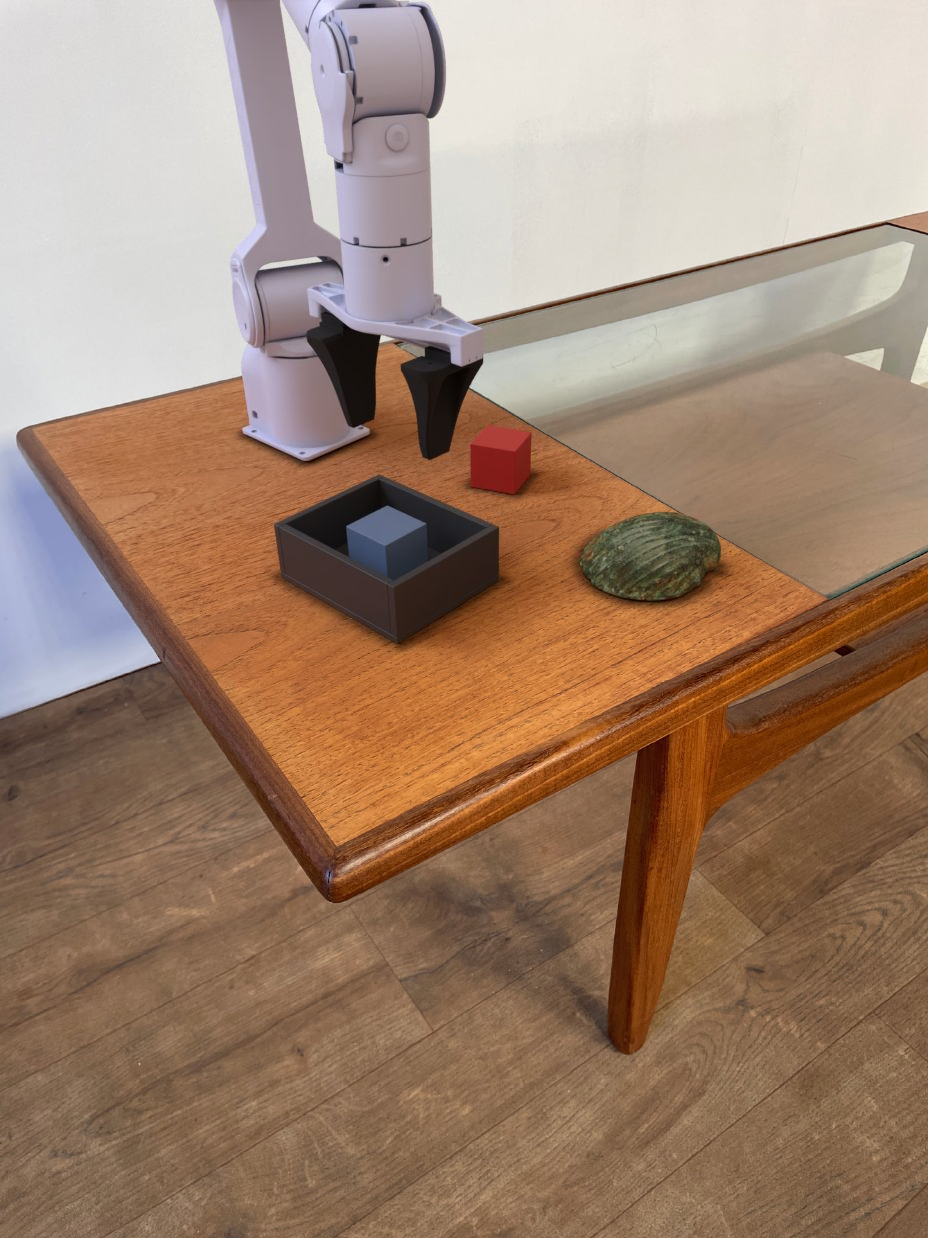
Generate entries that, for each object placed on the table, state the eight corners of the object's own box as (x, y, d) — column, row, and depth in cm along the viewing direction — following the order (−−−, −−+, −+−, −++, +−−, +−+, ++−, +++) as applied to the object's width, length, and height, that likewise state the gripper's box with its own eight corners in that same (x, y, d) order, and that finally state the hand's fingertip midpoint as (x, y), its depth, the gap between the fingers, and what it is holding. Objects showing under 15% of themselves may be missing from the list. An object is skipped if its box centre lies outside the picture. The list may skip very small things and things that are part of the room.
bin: (281, 577, 70) (273, 523, 68) (382, 524, 76) (379, 473, 74) (397, 644, 63) (393, 587, 61) (499, 580, 69) (499, 526, 67)
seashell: (590, 478, 73) (726, 490, 71) (587, 523, 76) (717, 535, 74) (576, 555, 65) (726, 571, 64) (572, 602, 68) (717, 618, 66)
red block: (470, 486, 81) (469, 443, 79) (487, 466, 84) (487, 424, 82) (514, 495, 80) (515, 451, 78) (530, 474, 83) (532, 431, 81)
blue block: (350, 574, 69) (345, 525, 67) (390, 552, 72) (387, 505, 70) (388, 594, 67) (385, 545, 65) (428, 571, 70) (426, 523, 67)
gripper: (517, 243, 58) (512, 449, 66) (356, 206, 66) (369, 393, 74) (435, 268, 54) (441, 485, 62) (274, 226, 62) (297, 422, 70)
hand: (397, 437), depth 68 cm, fingers open, 7 cm apart
